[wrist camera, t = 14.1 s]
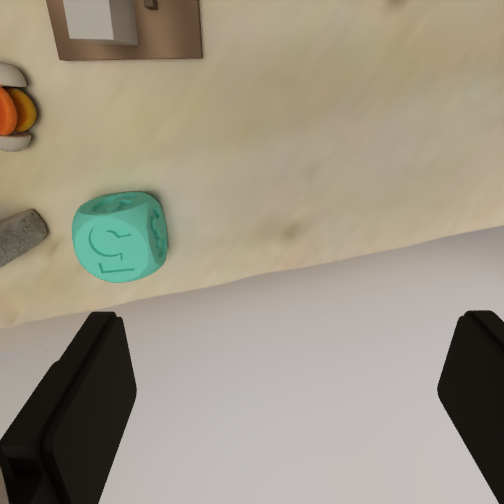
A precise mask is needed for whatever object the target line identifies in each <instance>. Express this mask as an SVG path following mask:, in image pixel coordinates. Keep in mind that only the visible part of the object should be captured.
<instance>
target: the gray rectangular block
mask: <svg viewBox="0 0 504 504" xmlns="http://www.w3.org/2000/svg"><path fill="white" fill-rule="evenodd" d="M63 3H64V9H65V15H66V20H67V26H68V32H69V37H70V39H75V40H80V41H85V42H91V43H96V44H101V45H136V46H138V39H137V29H136V19H135V10H134V0H63Z"/></svg>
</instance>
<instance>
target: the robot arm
mask: <svg viewBox="0 0 504 504" xmlns="http://www.w3.org/2000/svg"><path fill="white" fill-rule="evenodd" d="M437 391H438V396H439V399H440V401H441V403H442V404H443V406H444V408H445V410H446V411H447V413H448V415H449V417H450V418H451V420H452V422H453V424H454V425H455V427H456V429H457V430H458V432H459V434H460V436H461V438H462V439H463V441H464V443H465V445H466V446H467V448H468V450H469V452H470V453H471V455H472V457H473V459H474V460H475V462H476V464H477V465H478V467H479V469H480V471H481V473H482V474H483V476H484V478H485V480H486V481H487V483H488V485H489V487H490V488H491V490H492V492H493V493H494V495H495V497H496V499H497V501H498V502H499V504H504V322H503V321H502V320H501V319H500V318H499V317H498V316H497V315H496V314H495V313H494V312H492V311H489V310H488V311H486V310H485V311H484V310H479V311H467V312H466V313H465V314H464V316H461V317H459V320H458V322H457V325H456V328H455V331H454V335H453V338H452V341H451V344H450V348H449V351H448V354H447V357H446V360H445V364H444V367H443V370H442V373H441V377H440V380H439V383H438V388H437ZM136 392H137V388H136V382H135V378H134V372H133V368H132V363H131V358H130V353H129V348H128V343H127V338H126V333H125V328H124V323H123V319H122V318H121V317H117V316H116V314H115V312H92V313H91V314H90V315H89V316H88V318H87V319H86V321H85V322H84V324H83V325H82V327H81V328H80V330H79V331H78V332H77V334H76V336H75V337H74V339H73V340H72V342H71V343H70V344H69V346H68V347H67V349H66V350H65V352H64V353H63V355H62V356H61V358H60V359H59V360H58V361H57V362H55V363H54V364H53V365H52V366H51V367H50V368H49V370H48V372H47V373H46V374H45V376H44V377H43V379H42V380H41V381H40V383H39V384H38V386H37V387H36V389H35V390H34V392H33V393H32V395H31V396H30V398H29V399H28V401H27V402H26V404H25V405H24V406H23V408H22V409H21V411H20V412H19V414H18V415H17V417H16V418H15V419H14V421H13V422H12V424H11V425H10V427H9V428H8V430H7V431H6V433H5V434H4V436H3V437H2V438H1V440H0V504H98V503H99V500H100V497H101V495H102V492H103V489H104V486H105V483H106V481H107V478H108V475H109V472H110V469H111V466H112V464H113V461H114V458H115V455H116V452H117V450H118V447H119V444H120V441H121V438H122V436H123V433H124V430H125V427H126V424H127V422H128V419H129V416H130V413H131V411H132V408H133V405H134V402H135V398H136Z"/></svg>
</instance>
